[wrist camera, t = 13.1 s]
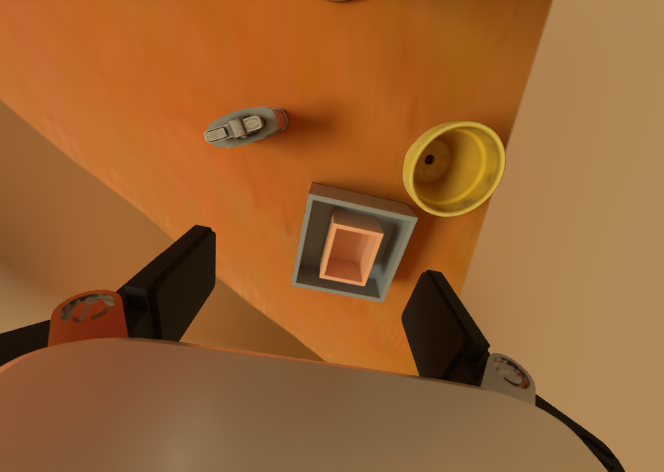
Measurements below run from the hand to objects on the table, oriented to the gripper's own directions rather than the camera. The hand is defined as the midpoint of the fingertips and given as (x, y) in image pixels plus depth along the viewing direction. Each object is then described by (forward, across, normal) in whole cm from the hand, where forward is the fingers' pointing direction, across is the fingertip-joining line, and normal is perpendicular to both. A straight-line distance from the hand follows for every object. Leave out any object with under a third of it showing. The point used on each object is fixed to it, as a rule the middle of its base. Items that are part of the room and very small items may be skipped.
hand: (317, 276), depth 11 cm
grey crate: (+27, -6, +11) cm, 30 cm away
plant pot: (+28, -14, -3) cm, 31 cm away
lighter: (+28, +10, -2) cm, 30 cm away
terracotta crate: (+26, -6, +11) cm, 29 cm away
